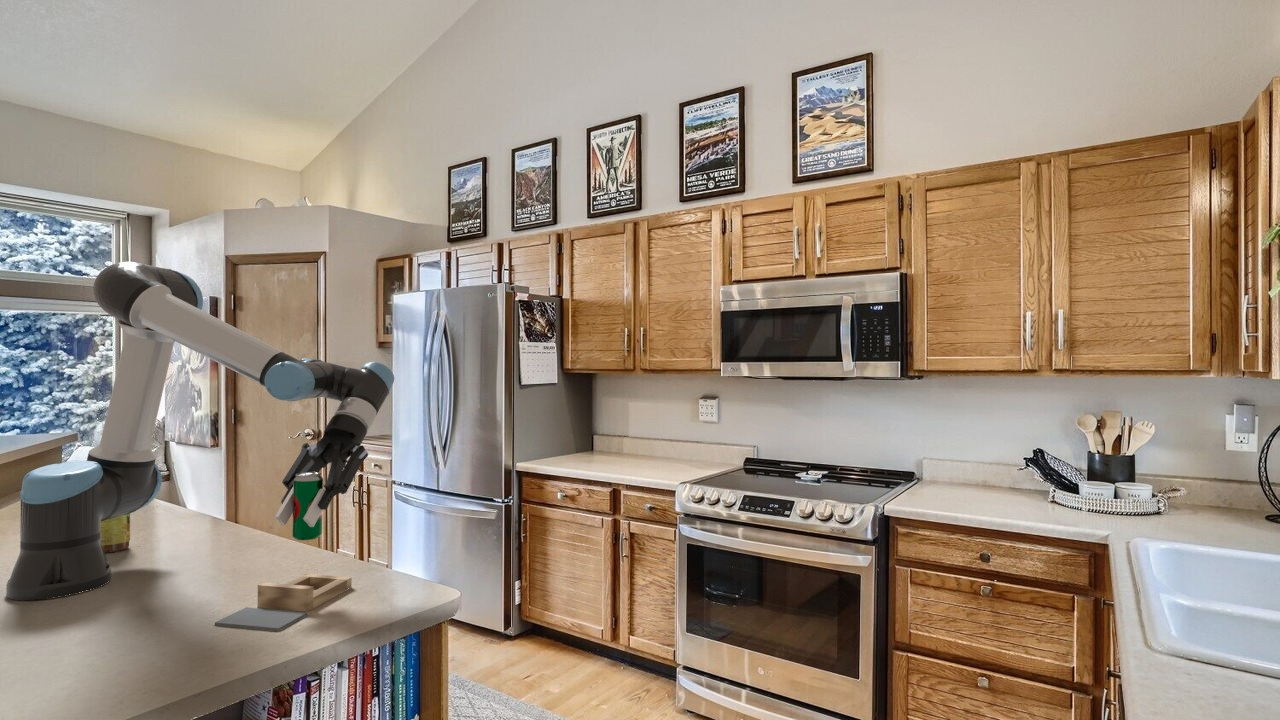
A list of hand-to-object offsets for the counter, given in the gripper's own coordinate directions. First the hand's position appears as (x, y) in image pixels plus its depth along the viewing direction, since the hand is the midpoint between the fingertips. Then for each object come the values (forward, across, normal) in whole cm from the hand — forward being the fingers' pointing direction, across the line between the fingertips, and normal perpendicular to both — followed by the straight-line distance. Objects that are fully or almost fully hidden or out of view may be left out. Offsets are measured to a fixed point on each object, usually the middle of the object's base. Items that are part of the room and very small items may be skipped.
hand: (294, 521), depth 120 cm
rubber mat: (+16, 0, +5) cm, 17 cm away
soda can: (0, 0, +6) cm, 6 cm away
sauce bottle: (-4, -63, +26) cm, 68 cm away
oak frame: (+8, 0, +13) cm, 15 cm away
